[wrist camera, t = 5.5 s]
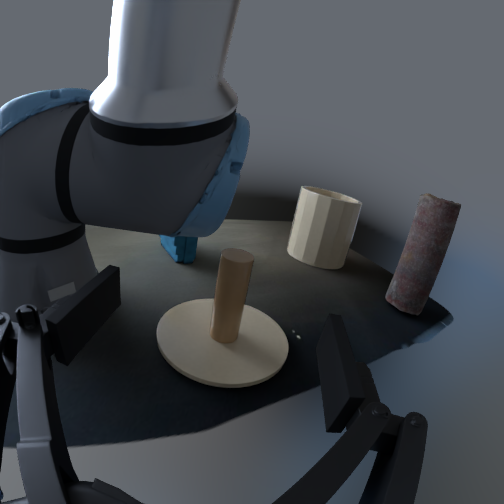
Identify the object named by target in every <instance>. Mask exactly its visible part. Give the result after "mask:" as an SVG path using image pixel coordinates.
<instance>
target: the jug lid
mask: <svg viewBox="0 0 504 504" xmlns="http://www.w3.org/2000/svg"><path fill="white" fill-rule="evenodd" d="M253 262H254V256H253V255H252V254H251V253H249V252H247V251H244V250H241V249H234V248H229V249H224V250H222V251H221V255H220V261H219V268H218V274H217V281H216V287H215V294H214V299H198V300H192V301H188V302H184V303H181V304H179V305H177V306H175V307H173V308H171V309H170V310H168V311H167V312H166V313H165V314H164V315H163V317H162V318H161V319H160V321H159V323H158V326H157V334H156V338H157V344H158V347H159V350H160V352H161V354H162V355H163V357H164V358H165V360H166V361H167V362H168V363H169V364H170V365H171V366H172V367H173V368H174V369H176V370H177V371H178V372H180V373H181V374H183V375H185V376H186V377H188V378H190V379H192V380H195V381H197V382H200V383H203V384H206V385H210V386H216V387H224V388H241V387H247V386H252V385H256V384H259V383H261V382H264V381H266V380H268V379H269V378H271V377H273V376H274V375H275V374H276V373H277V372H279V370H280V369H281V368H282V367H283V365H284V363H285V361H286V358H287V355H288V349H289V347H288V341H287V338H286V335H285V333H284V331H283V330H282V329H281V327H280V326H279V325H278V324H277V323H276V322H275V321H274V320H273V319H272V318H270V317H269V316H267V315H266V314H264V313H263V312H261V311H259V310H257V309H255V308H253V307H250V306H248V305H245V301H246V296H247V291H248V286H249V282H250V277H251V272H252V267H253Z"/></svg>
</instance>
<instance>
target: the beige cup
mask: <svg viewBox="0 0 504 504" xmlns="http://www.w3.org/2000/svg"><path fill="white" fill-rule="evenodd" d="M361 206H362V202H360V201H359V200H357V199H354V198H352V197H349V196H346V195H344V194H340V193H337V192H334V191H330V190H326V189H322V188H317V187H312V186H301V190H300V195H299V199H298V203H297V207H296V212H295V216H294V221H293V224H292V229H291V233H290V237H289V241H288V245H287V246H288V247H287V251H288V253H289V254H290V255H291V256H292V257H294V258H295V259H297V260H299V261H301V262H303V263H305V264H308V265H311V266H314V267H318V268H323V269H339V268H341V267H343V266H344V263H345V261H346V258H347V254H348V251H349V248H350V245H351V241H352V238H353V234H354V231H355V228H356V225H357V221H358V218H359V213H360V210H361Z"/></svg>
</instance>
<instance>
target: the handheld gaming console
mask: <svg viewBox="0 0 504 504" xmlns="http://www.w3.org/2000/svg"><path fill="white" fill-rule="evenodd" d="M159 236H160V238H161V245H162V246H163V247H164V249H165V250H166V251H167V252H168V253H169V255H170V256H171V257H172V258H173V259H174V261H175V262H183V263H184V264H188V263H193V260H194V259H195V257H196V248H197V240H198V237H187V236H176V237H169V236H164V235H159Z"/></svg>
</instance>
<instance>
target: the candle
mask: <svg viewBox="0 0 504 504" xmlns="http://www.w3.org/2000/svg"><path fill="white" fill-rule="evenodd" d="M460 208H461V204H459V203H454V202H453V201H447V200H444V199H439V198H437V197H435V196H433V195H431V194H427V193H426V194H424V195H420V199H419V202H418V206H417V209H416V213H415V216H414V219H413V223H412V226H411V229H410V232H409V235H408V238H407V241H406V244H405V247H404V250H403V252H402V255H401V258H400V260H399V263H398V265H397V268H396V270H395V273H394V276H393V278H392V281H391V283H390V286H389V288H388V291H387V293H386V300H387V301H388V302H389V303H390V304H392V305H394V306H395V307H396V308H397V309H399V310H400V311H403V312H407V313H410V314H415V315H419V314H420V313H421V312H422V309H423V307H424V305H425V303H426V301H427V299H428V297H429V294H430V292H431V290H432V287H433V285H434V282H435V280H436V277H437V275H438V272H439V270H440V267H441V265H442V262H443V259H444V257H445V254H446V251H447V248H448V246H449V243H450V240H451V237H452V234H453V231H454V228H455V224H456V221H457V218H458V215H459V211H460Z"/></svg>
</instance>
